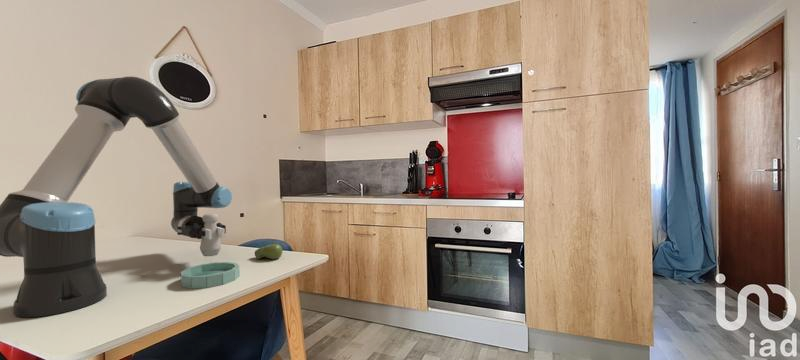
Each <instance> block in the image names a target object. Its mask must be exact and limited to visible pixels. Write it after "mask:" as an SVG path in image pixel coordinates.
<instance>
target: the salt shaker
mask: <svg viewBox="0 0 800 360" xmlns="http://www.w3.org/2000/svg"><path fill="white" fill-rule="evenodd" d="M202 219H203V221H204V222H205V224H204V228H205V229H209V230H212V239H206V238H204V236H202V239H200V240H201V241H200V246H199V249H200V252H201V254H202V256H203V257H215V256H218V254H219V253H220V251H221V249H222V244H221V240H220V239H221V238H220V237H219V236H218V233H217V225H216V224H217V222H218V221H219V215H218V214H216V213H206V214H204V215H202Z"/></svg>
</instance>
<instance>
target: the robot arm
mask: <svg viewBox="0 0 800 360" xmlns="http://www.w3.org/2000/svg"><path fill="white" fill-rule="evenodd" d="M75 99H76V101H77V104H76V105H75V107H74V111H75V113H76V115H77V116H76V118H75V119H74V120H73V121H72V123H71V125H70V126H69V127H68V128H67V129H66V130H65V132H64V133H63V135H62V136H61V138H60V139H59V141H58V142H57V143H55V145H54V147H53V149H52V150H51V151H50V152H49V154H48V155H47V157H46V158H45V159H44V160H43V162H42V163H41V164H40V166H39V167H38V168H37V169H36V171H35V173H34V174H33V175H32V176H31V178H30V179H29V181H28V182H27V183H26V185H25V186H24V187H23V188H22V189H21V190H17V191H14V192H9V193H8V195H7V196H6V197H5V198H4V200H3V201H2V202H1V204H0V256H2V257H6V258H11V257H19V258H23V274H24V275H23V276H24V277H23V280H22V282H21V284H20V287H19V290H18V291H17V296H16V299H14V302H13V306H12V308H13V309H12V310H13V316H15V317H18V318H36V317H46V316H52V315H58V314H62V313H66V312H71V311H74V310H78V309H82V308H85V307H87V306H90V305H93V304H96V303H98V302H100V301H102V300H103V299H105V297H107V295H108V293H107V291H108V290H107V289H108V288H107V284H106V283H105V282H104V279H103V277H102V275H101V273H100V271H99V268H98V267H97V261H96V260H97V259H96V257H97V256H96V255H97V254H96V233H95V232H96V231H95V230H96V229H95V228H96V227H95V226H96V225H95V224H96V218H95V213H94V210H93V208H92V207H91V206H90V205H88V204H85V203H81V202H80V203H79V202H72V201H71V202H69V200H70V199H71V198H72V196H73V195H74V193H75V191H76V190H77V188H78V187H79V186H80V184H81V182H82V181H83V179H84V178H85V176H86V175H87V173H88V172H89V171H90V169H91V167H92V166H93V164H94V163H95V161H96V160H97V158H98V157H99V155H100V153H101V152H102V150H103V149H104V148H105V146H106V144H107V143H108V141H109V140H110V138H112V135H113V134H114V133H115V132H121V131H124V129H125V127H126V126H127V125H128V123H129V121H130V120H131V119H132V118H137V119H138V120H140V122H142V123H143V125H144V126H145V127H146V128H147V129H151V130H152V131H153V132H154V134H155V136H156V137H157V138H158V140H159V142H160V143H161V145H162V146H163V147H164V149H165V150H166V152H167V154H169V156H170V157H171V158H172V160H173V161H174V163H175V165H176V166H177V167H178V169H179V170H180V171H181V173H182V175H183V176H184V177H185V179H186V180H187V181H180V182H179V181H178V182H175V183H174V184H173V190H172V196H173V197H172V198H173V211H172V214H173V217H172V219H171V221H170V226H171V228H172V229H173V230H174V231H175V232H176V233H177V235H178V236H180V235H181V236H183V237H184V236H185V237H189V238H190V239H191V238H192V239H197V240H202V236H204V238H206V239H212V230H209V229H205V228H204V224H205V222H204V221H203V219H202V218H203V216H200V215H199V216H198V211H199V210H198V209H199V208H207V209H222V208H227V207H229V205H230V204H231V202H232V200H233V195H232V191H231V190H230V189H229V188H227V187H226V186H221V185H220V184H219V182H217V181H218V180H216V178H215V177H214V174H213V173H212V171H211V170H210V168H209V166H208V164H207V163H206V162H205V160H204V158H203V157H202V155H201V154H200V152H199V151H198V149H197V147H196V146H195V144H194V143H193V141H192V139H191V138H190V136H189V135H188V133H187V130H186V129H185V128H184V126H183V125H182V123H181V122H180V120H179V117H180V113H179V111H178V110H177V108H176V107H175V105H174V104H173V102H172V101H171V100H170V98H169V97H168V96H167V95H166V94H165V93H164V92H163V91H162V90H161V89H160V88H158V87H157V86H156V85H155V84H153V83H151V82H150V81H148V80H146V79H144V78H141V77H137V76H124V77H113V78H99V79H94V80H91V81H88V82H86V83H84V84H83V85H82V86H81V87H80V88H79V89H78V90H77V92H76V98H75ZM216 225H217V233H218V236H219V238H220V239H221V238H225V237H226V236H225V234H226V233H227V229H226V225H225V224H222V223H221V222H216Z"/></svg>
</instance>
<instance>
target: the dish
mask: <svg viewBox="0 0 800 360" xmlns="http://www.w3.org/2000/svg"><path fill="white" fill-rule="evenodd" d="M239 277H240V265H239V264H238V263H237V262H231V261H217V262H215V261H214V262H210V263H202V264H197V265H195V266H191V267H188V268H186V269H183V270H182V271H180V284H181V285H180V286H181V287H183V288H187V289H207V288H213V287H218V286H223V285H226V284H228V283H231V282H234V281H236V280H237V279H238V278H239Z"/></svg>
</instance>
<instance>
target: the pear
mask: <svg viewBox="0 0 800 360" xmlns="http://www.w3.org/2000/svg"><path fill="white" fill-rule="evenodd" d="M282 255H283V248H282V245H280V244H278V243H272V244H267V245H265V246H261V247H258V248H257V249H256V250H255V251H254V257H255V259H256V260H261V259H263V258H266V259H269V260H273V259H274V260H278V259H280V258H281V257H282Z"/></svg>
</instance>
